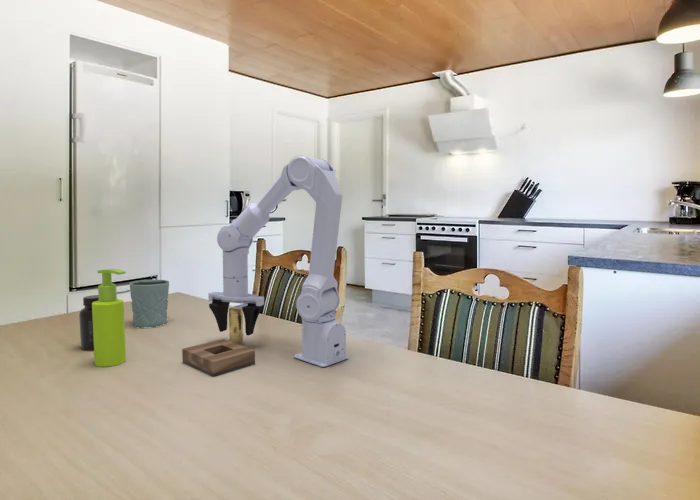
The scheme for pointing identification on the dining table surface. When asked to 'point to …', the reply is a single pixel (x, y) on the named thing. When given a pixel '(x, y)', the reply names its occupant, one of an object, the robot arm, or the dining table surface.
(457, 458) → the dining table surface
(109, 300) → the soap dispenser
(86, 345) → the supplement bottle
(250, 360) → the walnut block
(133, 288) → the grey-green plant pot
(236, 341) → the brass peg
